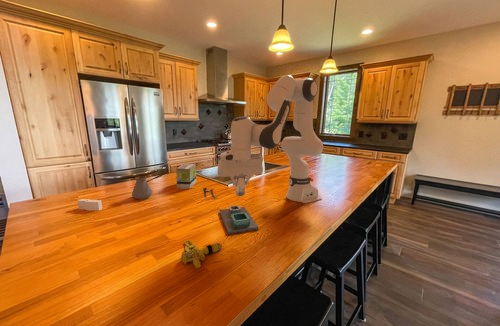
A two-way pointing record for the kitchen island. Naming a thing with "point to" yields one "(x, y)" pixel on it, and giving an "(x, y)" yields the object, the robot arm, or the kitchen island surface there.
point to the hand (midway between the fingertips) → (240, 184)
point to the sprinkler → (197, 252)
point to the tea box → (186, 176)
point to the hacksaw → (208, 191)
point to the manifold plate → (237, 220)
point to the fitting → (240, 185)
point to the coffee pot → (143, 187)
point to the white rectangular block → (89, 204)
